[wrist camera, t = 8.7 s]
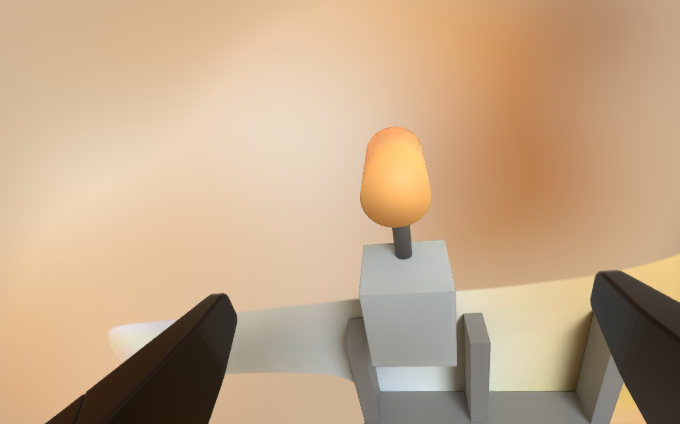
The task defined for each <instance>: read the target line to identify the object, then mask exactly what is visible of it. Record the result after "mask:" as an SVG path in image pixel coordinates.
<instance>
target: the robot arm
mask: <svg viewBox="0 0 680 424" xmlns="http://www.w3.org/2000/svg"><path fill="white" fill-rule="evenodd" d="M590 302H591V307H592V310H593V312H594V315H595V317H596V319H597V322H598V324H599V327H600V329H601V331H602V334H603V336H604V339H605V341H606V343H607V346H608V348H609V351H610V353H611V355H612V358H613V360H614V363H615V365H616V367H617V369H618V372H619V374H620V376H621V377H622V379H623V381H624V383H625V385H626V387H627V389H628V391H629V392H630V394H631V396H632V398H633V400H634V401H635V403H636V405H637V407H638V409H639V410H640V412H641V414H642V416H643V418H644V419H645V421H646V423H647V424H680V302H678V301H676V300H674V299H672V298H670V297H669V296H667V295H665V294H663V293H661V292H659V291H657V290H656V289H654V288H652V287H650V286H648V285H646V284H644V283H643V282H641V281H639V280H637V279H635V278H633V277H632V276H630V275H628V274H626V273H624V272H622V271H619V270H609V271H600V272H598V273H597V274H596V276H595V280H594V284H593V289H592V293H591V298H590ZM236 325H237V315H236V312H235V310H234V308H233V306H232V304H231V301H230V300H229V297H228V296H227V295H226V294H224V293H221V294H211V295H209V296H208V297H207V298H205V299H204V300H203V301H201V302H200V303H199V304H198V305H196V306H195V307H194V308H193V309H191V310H190V311H189V312H187V313H186V314H185V315H184V316H182V317H181V318H180V319H178V320H177V321H176V322H175V323H173V324H172V325H171V326H170V327H168V328H167V329H166V330H164V331H163V332H162V333H161V334H159V335H158V336H157V337H156V338H154V339H153V340H152V341H150V342H149V343H148V344H147V345H145V346H144V347H143V348H141V349H140V350H139V351H138V352H136V353H135V354H134V355H133V356H131V357H130V358H129V359H127V360H126V361H125V362H124V363H122V364H121V365H120V366H119V367H117V368H116V369H115V370H113V371H112V372H111V373H110V374H108V375H107V376H106V377H104V378H103V379H102V380H101V381H99V382H98V383H97V384H96V385H94V386H93V387H92V388H91V389H89V390H88V391H87V392H86V394H83V395H82V396H80V397H79V398H78V399H76V400H75V401H74V402H73V403H71V404H70V405H69V406H67V407H66V408H65V409H64V410H62V411H61V412H60V413H58V414H57V415H56V416H54V417H53V418H52V419H51V420H49V421H48V422H47V423H45V424H208V423H209V420H210V417H211V414H212V411H213V408H214V405H215V403H216V400H217V397H218V394H219V391H220V388H221V385H222V382H223V379H224V375H225V372H226V368H227V364H228V359H229V355H230V351H231V346H232V342H233V338H234V333H235V329H236Z"/></svg>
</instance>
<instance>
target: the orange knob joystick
mask: <svg viewBox="0 0 680 424" xmlns="http://www.w3.org/2000/svg"><path fill="white" fill-rule="evenodd" d="M360 194H361V195H360V201H361V205H362V208H363V210H364V212H365V213H366V215H367V216H368V217H369V218H370V219H372V220H373V221H374V222H376V223H377V224H380V225H382V226H386V227H392V230H393V238H394V243H389V244H375V245H364V249H363V259H362V269H361V279H360V289H359V299H360V304H361V309H362V314H363V319H364V324H365V329H366V334H367V339H368V344H369V349H370V354H371V359H372V364H373V367H394V366H457V340H456V290H455V286H454V281H453V277H452V272H451V268H450V263H449V259H448V254H447V250H446V245H445V241H444V240H433V241H418V242H411V233H410V225H411V224H412V223H415V222H417V221H418V220H419V219H421V218H422V216H424V215H425V213H426V212H427V210H428V208H429V206H430V202H431V190H430V185H429V180H428V176H427V171H426V166H425V161H424V156H423V152H422V147H421V143H420V141H419V139H418V138H417V137H416V135H415V134H413V133H412V132H411V131H409V130H407V129H405V128H401V127H389V128H386V129H383V130H381V131H379V132H378V133H376V134H375V135H374V136H373V137H372V139H371V140H370V142H369V144H368V146H367V151H366V159H365V165H364V172H363V179H362V186H361V193H360Z"/></svg>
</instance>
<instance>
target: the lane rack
mask: <svg viewBox="0 0 680 424" xmlns="http://www.w3.org/2000/svg"><path fill="white" fill-rule="evenodd" d="M490 344H491V343H490V340H489V336H488V333H487V329H486V326H485V322H484V319H483V315H482V313H476V314H464V352H465V392H380V388H379V383H378V379H377V374H376V369H375V367H373V364H372V359H371V354H370V349H369V344H368V339H367V334H366V329H365V324H364V319H363V318H354V319H349V320H348V328H347V336H346V344H345V348H346V352H347V356H348V359H349V363H350V367H351V371H352V375H353V378H354V382H355V386H356V390H357V393H358V397H359V401H360V405H361V409H362V412H363V416H364V420H365V424H610V421H611V418H612V415H613V412H614V409H615V406H616V403H617V400H618V397H619V394H620V391H621V388H622V385H623V382H624V381H623V379H622V377H621V376H620V374H619V372H618V369H617V367H616V365H615V363H614V360H613V358H612V355H611V353H610V351H609V348H608V346H607V343H606V341H605V339H604V336H603V334H602V331H601V329H600V327H599V324H598V322H597V319H596V317H595V315H594V313H593V317H592V322H591V326H590V330H589V335H588V339H587V343H586V347H585V352H584V356H583V360H582V365H581V369H580V373H579V378H578V382H577V386H576V390H575V392H489V372H490Z"/></svg>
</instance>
